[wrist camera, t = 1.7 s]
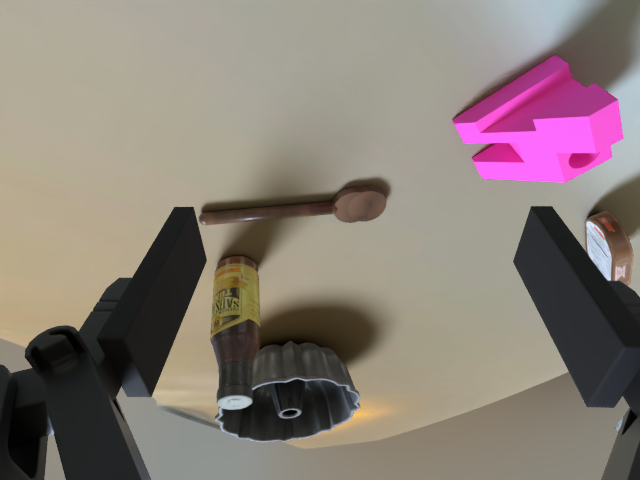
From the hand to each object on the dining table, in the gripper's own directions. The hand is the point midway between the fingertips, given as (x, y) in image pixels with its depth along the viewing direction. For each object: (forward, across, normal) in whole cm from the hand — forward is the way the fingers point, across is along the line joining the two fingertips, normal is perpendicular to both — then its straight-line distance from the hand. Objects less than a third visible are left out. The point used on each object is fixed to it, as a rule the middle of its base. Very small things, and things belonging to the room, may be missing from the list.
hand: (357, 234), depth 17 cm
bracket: (+36, +20, -9) cm, 42 cm away
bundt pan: (+37, -12, -59) cm, 71 cm away
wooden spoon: (+32, -6, -19) cm, 38 cm away
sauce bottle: (+32, -16, -29) cm, 46 cm away
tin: (+43, +40, -31) cm, 66 cm away
